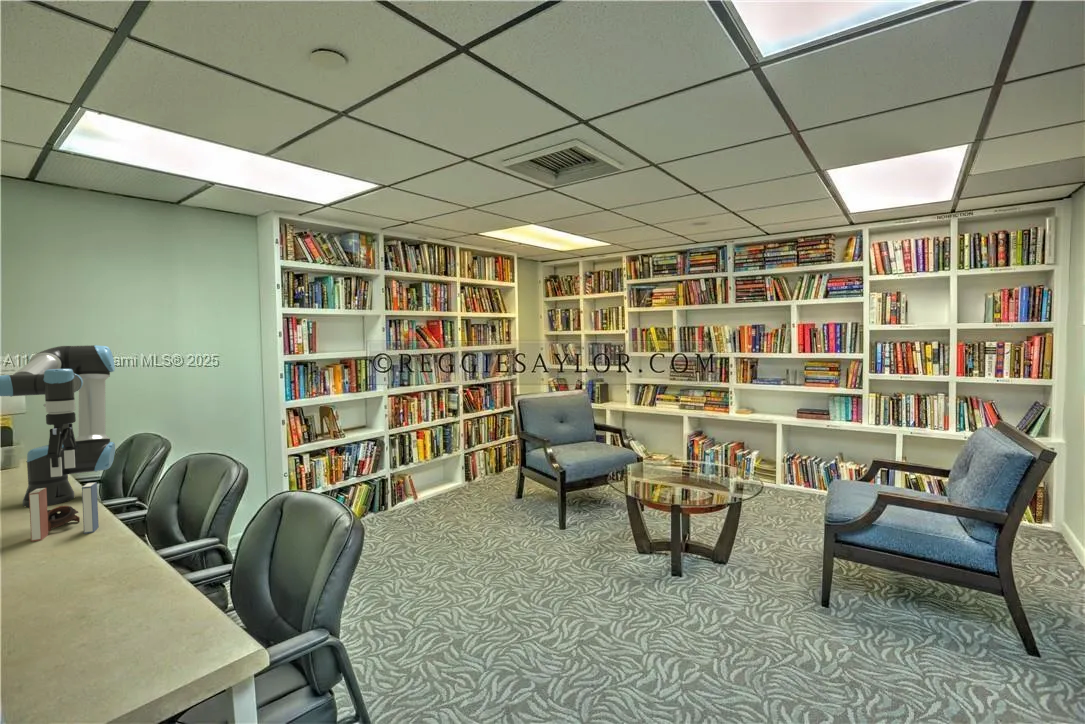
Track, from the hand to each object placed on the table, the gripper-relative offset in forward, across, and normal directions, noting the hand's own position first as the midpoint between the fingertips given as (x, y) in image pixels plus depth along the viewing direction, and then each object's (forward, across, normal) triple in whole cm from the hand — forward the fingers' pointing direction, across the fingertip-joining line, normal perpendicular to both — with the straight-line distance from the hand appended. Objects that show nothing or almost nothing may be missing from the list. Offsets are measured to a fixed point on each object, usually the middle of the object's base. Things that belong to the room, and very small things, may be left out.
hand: (63, 472), depth 177 cm
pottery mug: (+20, -2, -2) cm, 21 cm away
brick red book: (+19, +10, -4) cm, 22 cm away
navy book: (+19, +10, +9) cm, 24 cm away
